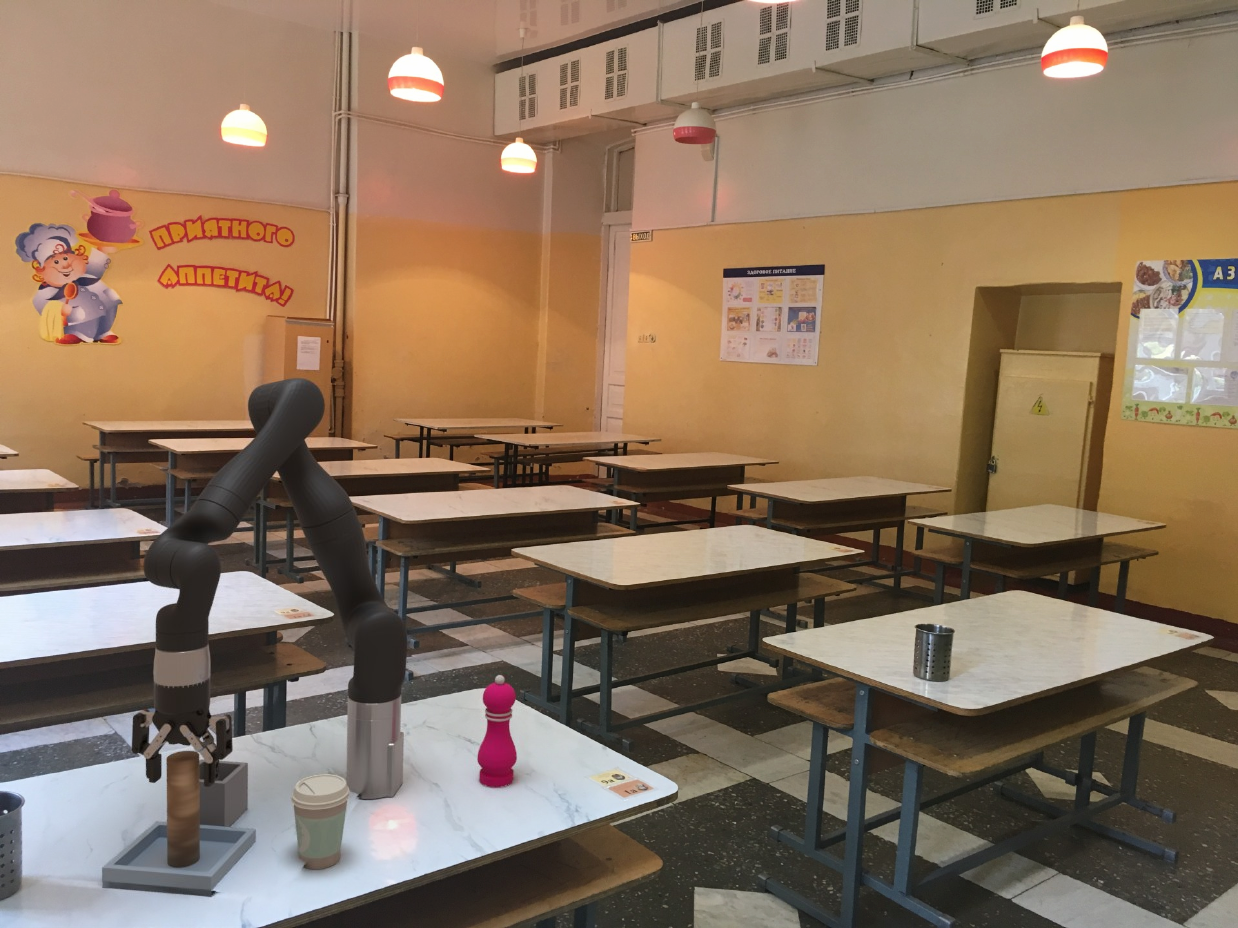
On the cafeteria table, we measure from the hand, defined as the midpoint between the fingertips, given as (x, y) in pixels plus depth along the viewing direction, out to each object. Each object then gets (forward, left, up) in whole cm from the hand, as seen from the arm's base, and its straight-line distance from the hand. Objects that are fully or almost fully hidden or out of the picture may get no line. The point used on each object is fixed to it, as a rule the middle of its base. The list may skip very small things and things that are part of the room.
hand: (182, 782), depth 140 cm
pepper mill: (-40, -37, -13) cm, 56 cm away
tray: (0, 0, -13) cm, 13 cm away
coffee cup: (-19, -5, -13) cm, 24 cm away
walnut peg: (0, 0, -12) cm, 12 cm away
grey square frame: (+2, -13, -13) cm, 19 cm away
